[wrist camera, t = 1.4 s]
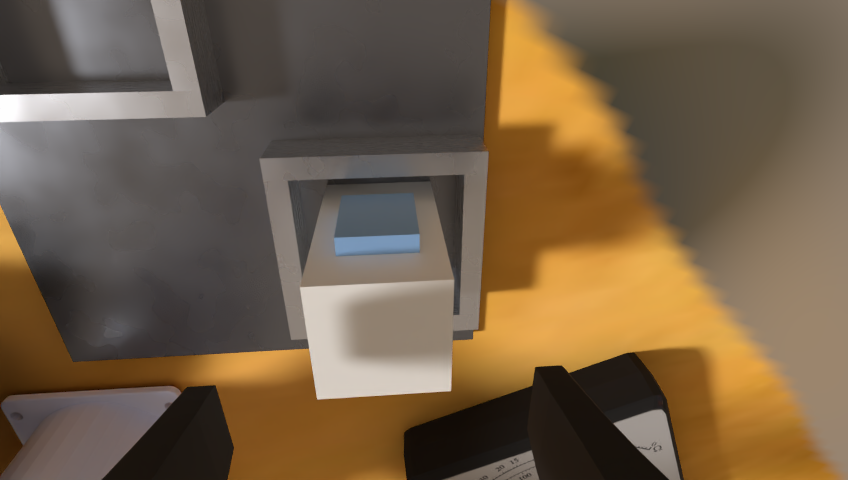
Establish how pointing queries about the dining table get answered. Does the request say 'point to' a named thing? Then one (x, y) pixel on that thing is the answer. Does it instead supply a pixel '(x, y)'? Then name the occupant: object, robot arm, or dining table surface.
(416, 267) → the plug
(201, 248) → the panel
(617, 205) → the dining table surface
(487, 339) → the dining table surface
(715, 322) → the dining table surface
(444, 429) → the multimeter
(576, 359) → the dining table surface
